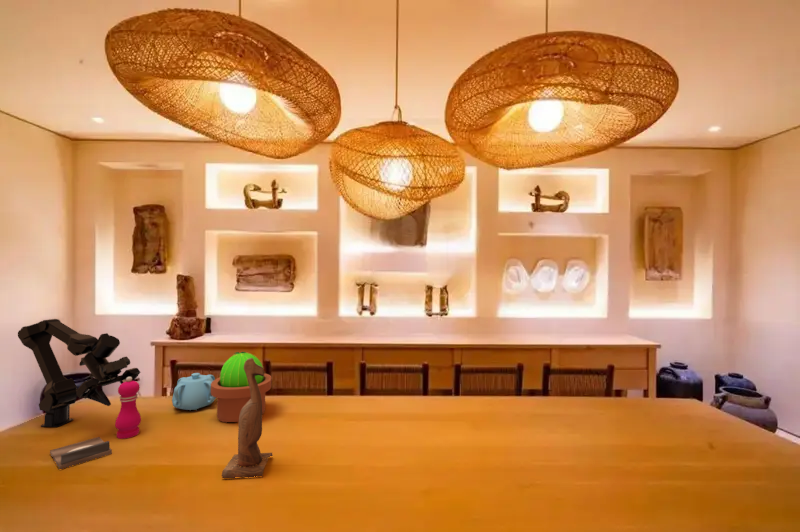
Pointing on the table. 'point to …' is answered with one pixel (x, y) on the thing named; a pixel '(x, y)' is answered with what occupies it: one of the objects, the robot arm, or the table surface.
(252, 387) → the bird sculpture
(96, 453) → the flat brown board
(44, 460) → the table surface
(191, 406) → the decorative pot
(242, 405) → the potted cactus
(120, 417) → the pepper mill
